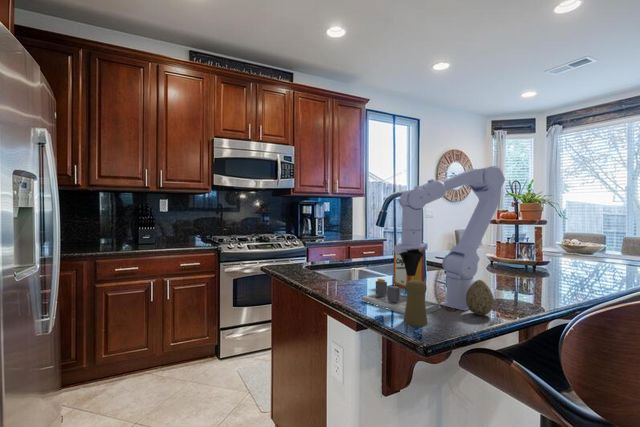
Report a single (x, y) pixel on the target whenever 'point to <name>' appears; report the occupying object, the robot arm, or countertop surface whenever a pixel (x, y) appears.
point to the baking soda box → (400, 272)
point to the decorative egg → (479, 298)
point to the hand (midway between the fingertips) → (410, 275)
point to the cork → (415, 303)
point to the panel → (396, 303)
